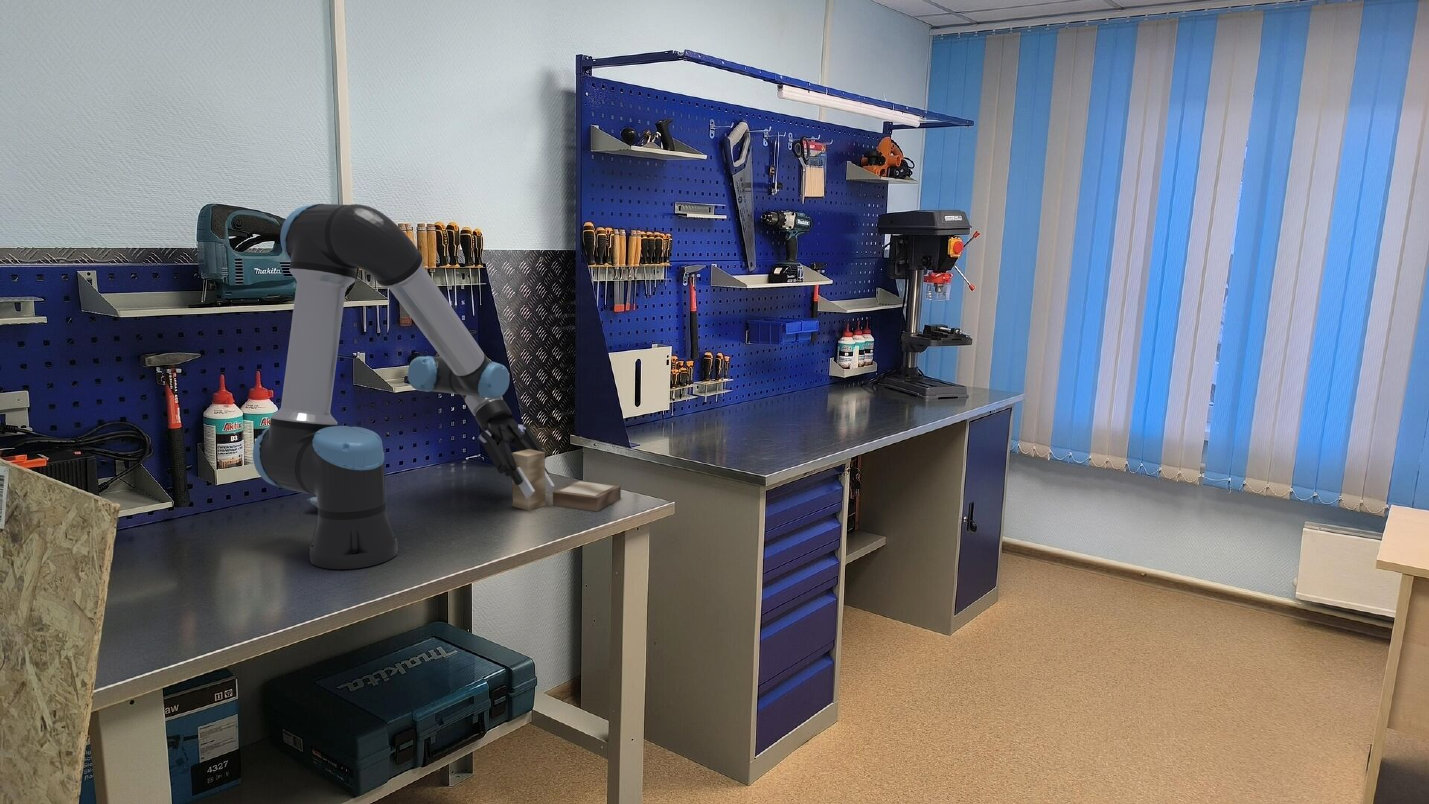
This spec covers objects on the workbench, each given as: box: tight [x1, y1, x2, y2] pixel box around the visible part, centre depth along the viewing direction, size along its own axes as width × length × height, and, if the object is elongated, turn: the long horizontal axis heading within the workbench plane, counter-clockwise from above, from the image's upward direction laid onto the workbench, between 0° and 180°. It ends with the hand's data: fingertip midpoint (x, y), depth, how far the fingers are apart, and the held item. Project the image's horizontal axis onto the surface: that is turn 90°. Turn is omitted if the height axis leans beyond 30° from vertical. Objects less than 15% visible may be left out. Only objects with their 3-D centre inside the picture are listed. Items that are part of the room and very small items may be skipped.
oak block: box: [511, 449, 547, 511], centre depth 205 cm, size 5×5×12 cm
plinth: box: [552, 480, 622, 512], centre depth 210 cm, size 11×11×3 cm
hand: (540, 492), depth 203 cm, fingers closed on oak block, 5 cm apart
